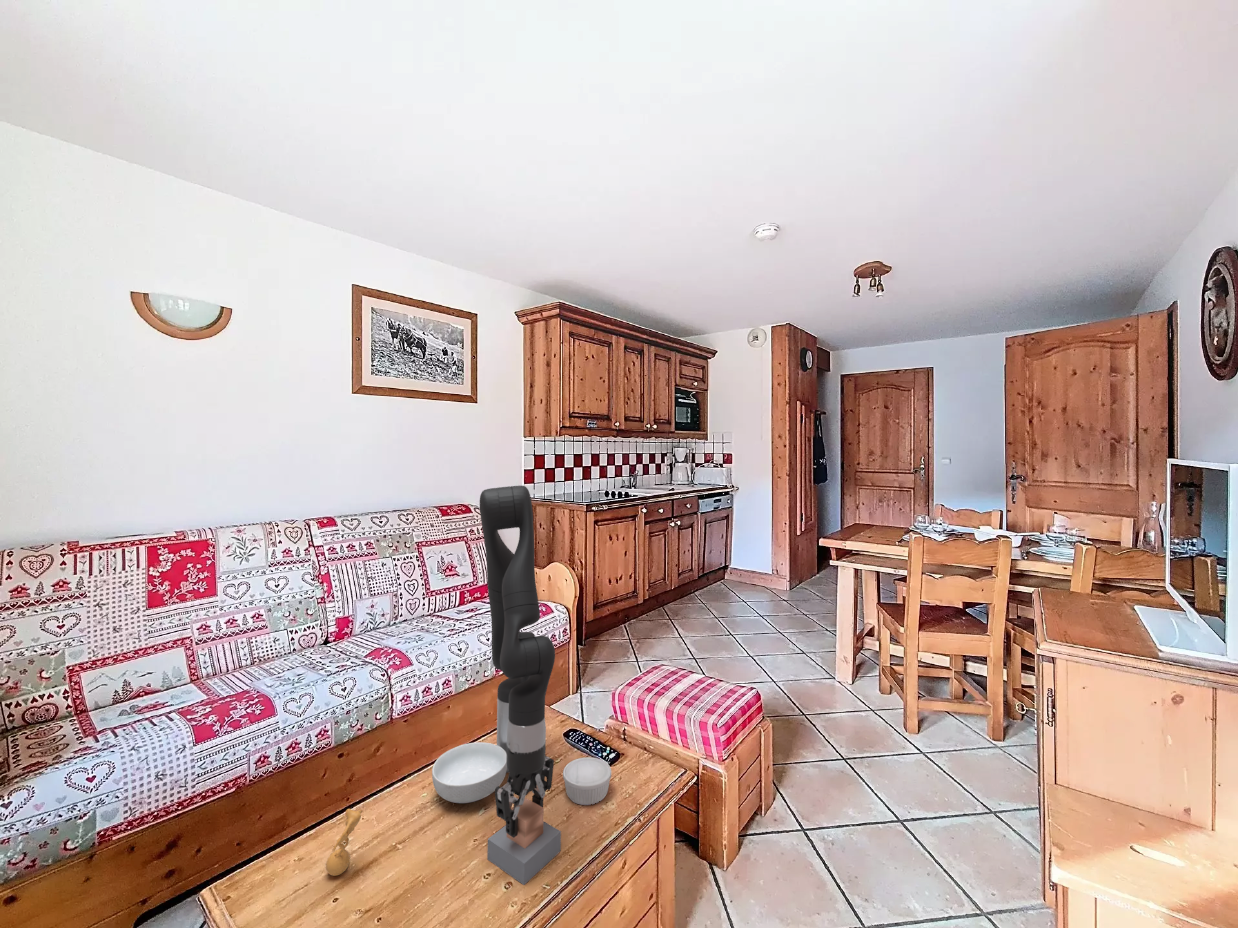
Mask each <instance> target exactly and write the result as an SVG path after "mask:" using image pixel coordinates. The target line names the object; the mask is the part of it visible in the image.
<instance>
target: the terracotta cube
mask: <svg viewBox="0 0 1238 928" xmlns="http://www.w3.org/2000/svg"><path fill="white" fill-rule="evenodd" d="M513 808H514V806H513V807H511V809H512V810H513ZM517 817H518V835H517V836H516V837H514V838H513V837H512V836H510V835H509V834H508V833H507V837H508V838H509V839H511V840H512V841H514V842H515V843H517V844H519V845H520V846H522V847H523V848H526V847H527V846H529V845H530V844H531V843H532V842H533V841H534V840H536V839H537V838H538V837H539V836H540V835H541V834H543V821H544V806H543V807H541V806H539V805H538V804H536V803H534V802H532V799H530V798H529V799H528V798H527V797H525V799H524V802H523V805H522V806H520V808H519V812H518V815H517Z"/></svg>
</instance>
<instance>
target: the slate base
mask: <svg viewBox="0 0 1238 928" xmlns="http://www.w3.org/2000/svg"><path fill="white" fill-rule="evenodd" d="M561 845H562V831H561V830H559V829H558V828H556V827H554V826H553V825H551V824H549V823H548V822H546V821H544V820H543V834H541V835H540V836H539V837H538V838H537V839H536V840H534V841H533V842H532V843H531V844H530V845H529V846H527V847H526V848H523V847H522V846H520V845H519V844H517V843H515V842H514V841H512V840H511V839H509V838H508V837H507V833H506V824H505V825H504V826H503V827H501V828H500V829H499V830H498V831H496V832H495V833H493V834H492V835H491V836H490V837H488V838H487V854H486V855H487V858H486V859H487V861H489V862H490V863H492V864H493V865H495V866H496V867H497V868H499V869H500V870H502V871H503V872H504V873H506V874H507V875H509V876H510V877H512V878H513V879H515V881H518V882H519V883H520V884H522V885H523V886H525V885H526V884H527V883H528V882H529V881H530V880H531V879H533V877H534V876H536V874H538V873H539V872H540V871H541V870H542V869H544V867H545V866H546V865H547V864H549V863H550V862H551V861H552V860H553V859H554V858H555V857H556V856H557V855H558V854H559V853H560V852H561V851H562V850H561V849H562V848H561Z"/></svg>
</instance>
